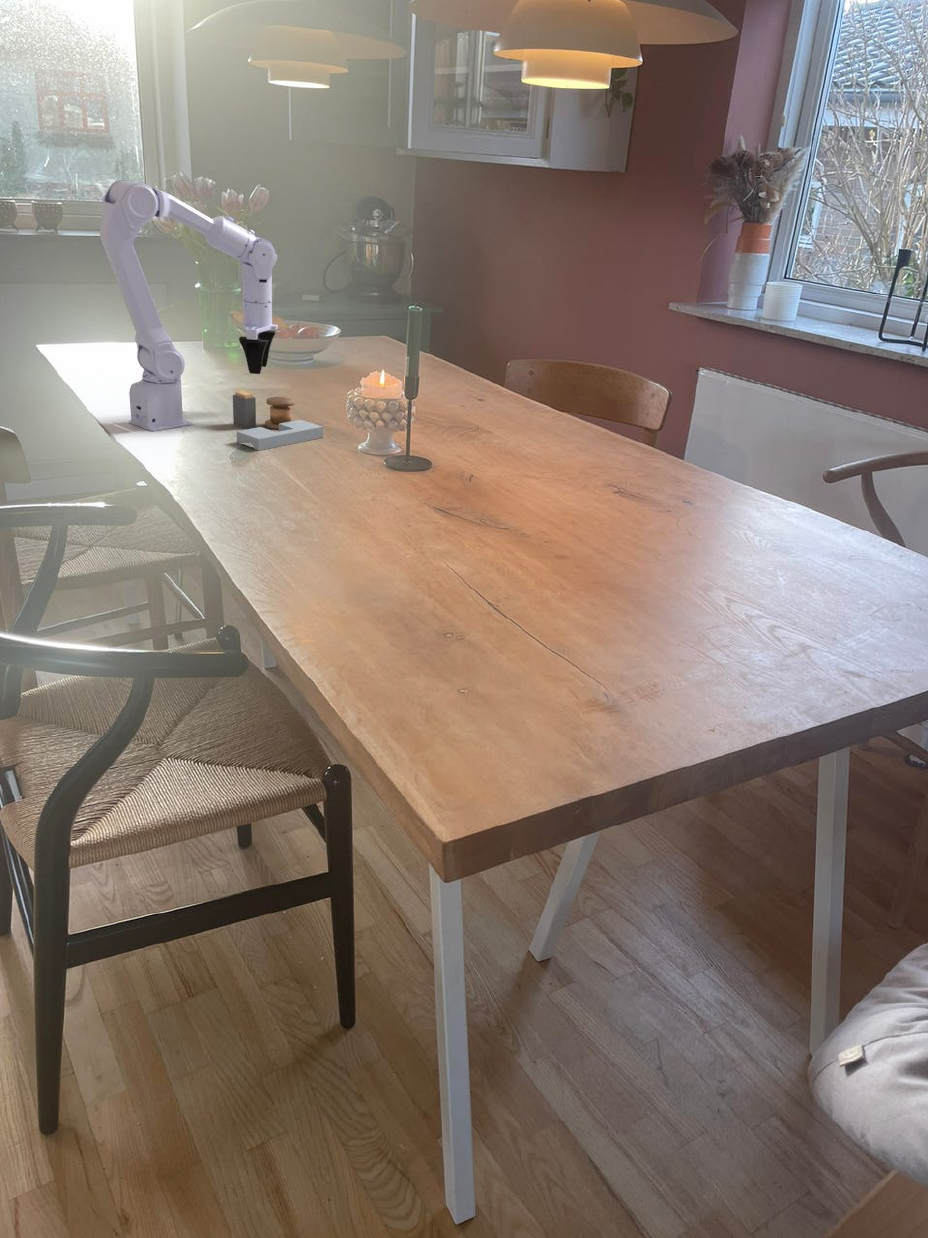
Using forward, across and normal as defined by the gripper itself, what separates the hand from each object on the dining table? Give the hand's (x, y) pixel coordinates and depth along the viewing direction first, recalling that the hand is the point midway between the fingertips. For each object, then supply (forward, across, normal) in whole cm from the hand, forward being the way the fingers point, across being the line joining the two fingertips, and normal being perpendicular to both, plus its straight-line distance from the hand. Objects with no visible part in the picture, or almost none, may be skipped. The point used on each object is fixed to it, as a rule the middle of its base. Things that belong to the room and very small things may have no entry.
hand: (258, 369), depth 195 cm
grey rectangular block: (+10, -9, +1) cm, 13 cm away
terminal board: (+10, -18, -7) cm, 21 cm away
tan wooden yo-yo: (+10, -7, -6) cm, 13 cm away
